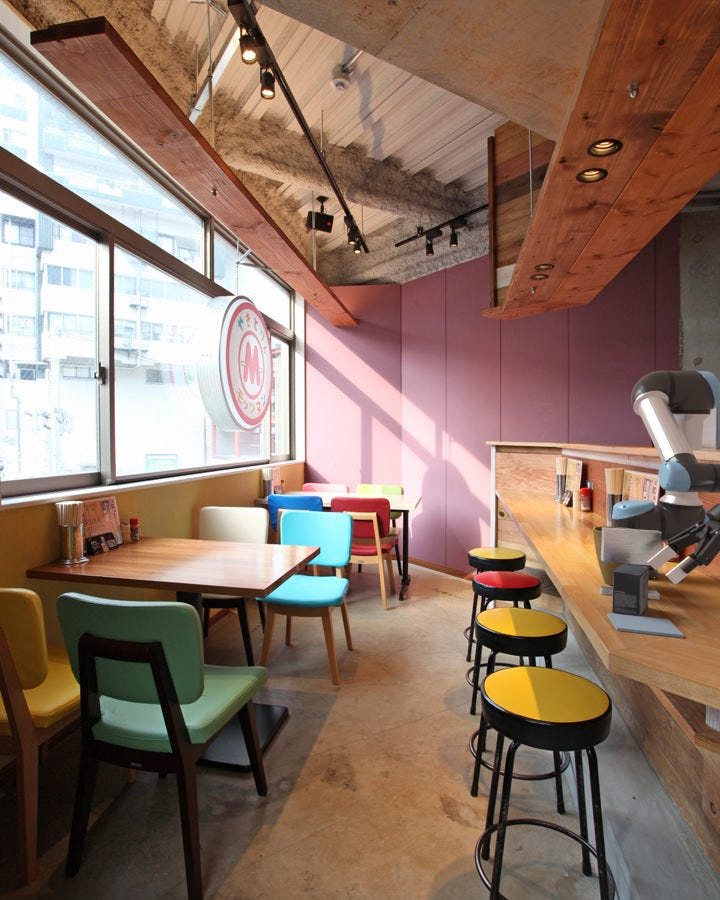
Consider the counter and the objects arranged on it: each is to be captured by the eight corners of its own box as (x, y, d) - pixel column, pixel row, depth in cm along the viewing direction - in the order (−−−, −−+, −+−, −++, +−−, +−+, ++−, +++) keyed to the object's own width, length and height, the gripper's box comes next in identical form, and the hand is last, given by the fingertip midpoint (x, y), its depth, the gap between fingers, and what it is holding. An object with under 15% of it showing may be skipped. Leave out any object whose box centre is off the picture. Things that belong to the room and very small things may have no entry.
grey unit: (599, 590, 140) (601, 526, 140) (655, 595, 136) (657, 530, 136) (602, 594, 137) (604, 528, 136) (659, 599, 133) (661, 532, 133)
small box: (620, 602, 130) (621, 562, 130) (648, 608, 126) (650, 566, 126) (610, 612, 122) (611, 569, 122) (640, 618, 118) (641, 574, 118)
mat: (607, 615, 119) (607, 613, 119) (668, 621, 116) (668, 619, 116) (617, 630, 110) (617, 627, 110) (684, 637, 106) (684, 635, 106)
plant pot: (588, 586, 144) (590, 531, 144) (593, 575, 157) (595, 524, 157) (648, 595, 137) (650, 537, 136) (648, 582, 149) (650, 529, 149)
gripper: (775, 534, 104) (693, 599, 108) (721, 518, 128) (655, 571, 132) (746, 508, 105) (666, 573, 109) (698, 497, 130) (633, 550, 133)
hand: (660, 572), depth 121 cm, fingers open, 13 cm apart
